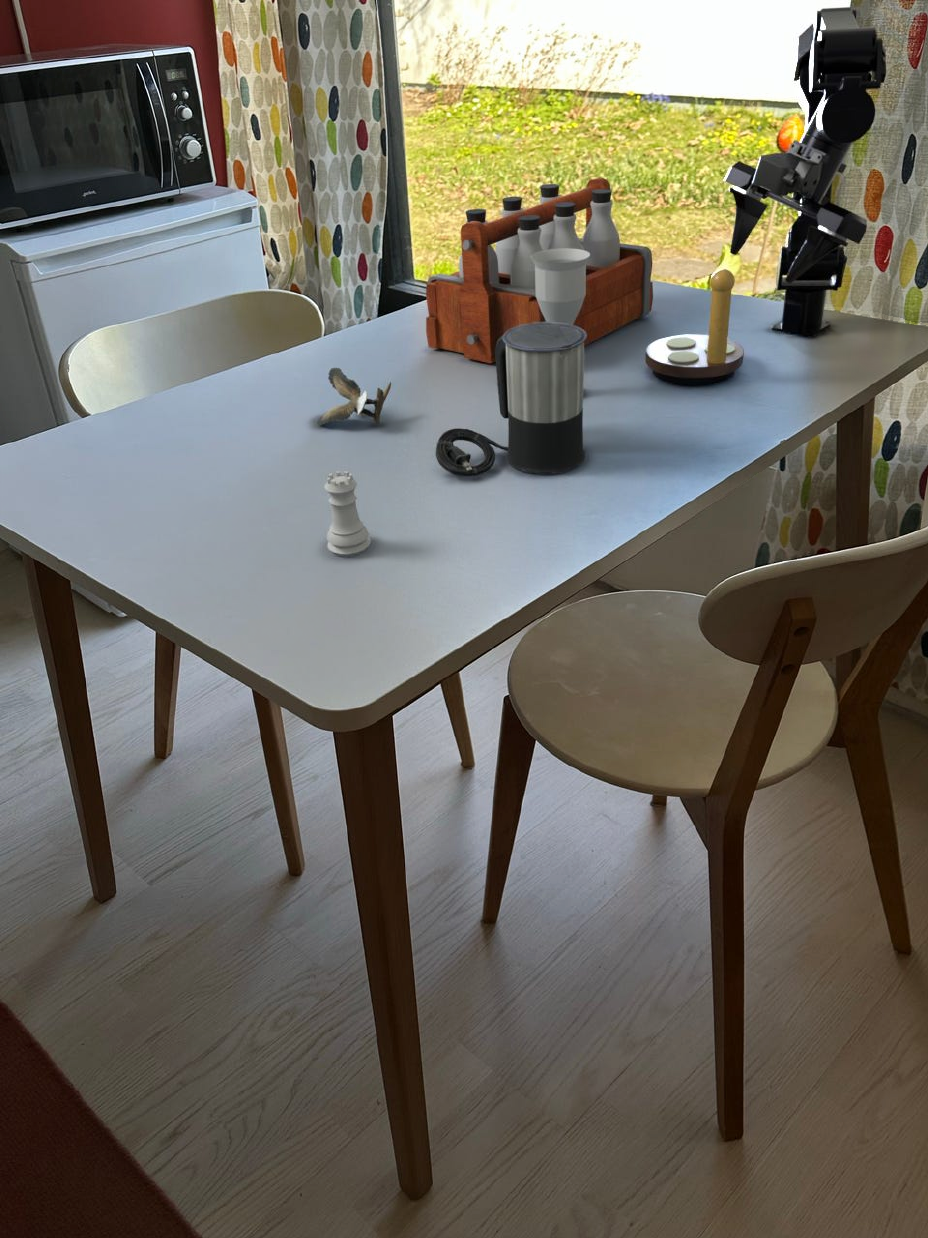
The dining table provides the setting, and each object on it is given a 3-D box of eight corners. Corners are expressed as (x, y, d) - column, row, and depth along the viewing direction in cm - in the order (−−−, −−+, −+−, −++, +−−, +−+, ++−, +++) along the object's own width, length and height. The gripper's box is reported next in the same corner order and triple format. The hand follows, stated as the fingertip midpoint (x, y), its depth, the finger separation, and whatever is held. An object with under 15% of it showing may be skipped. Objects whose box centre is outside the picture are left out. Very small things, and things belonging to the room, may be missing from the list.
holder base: (679, 352, 148) (680, 344, 147) (749, 367, 141) (750, 358, 141) (636, 375, 141) (636, 367, 140) (707, 392, 135) (708, 383, 134)
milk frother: (602, 455, 121) (604, 330, 112) (511, 505, 112) (506, 372, 103) (512, 426, 129) (508, 308, 121) (421, 470, 120) (409, 345, 112)
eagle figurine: (396, 400, 136) (333, 384, 137) (388, 368, 129) (322, 351, 131) (376, 448, 133) (311, 432, 135) (367, 418, 126) (300, 401, 128)
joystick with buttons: (678, 339, 148) (683, 243, 141) (760, 355, 140) (771, 255, 133) (626, 366, 140) (629, 266, 133) (711, 385, 133) (719, 280, 125)
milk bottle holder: (416, 354, 154) (404, 218, 143) (552, 292, 176) (551, 170, 165) (530, 380, 142) (526, 234, 131) (661, 310, 164) (667, 180, 153)
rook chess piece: (328, 538, 108) (317, 468, 103) (371, 534, 108) (362, 464, 103) (327, 560, 104) (316, 488, 100) (371, 555, 104) (362, 484, 100)
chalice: (588, 384, 139) (590, 247, 129) (589, 403, 134) (590, 261, 124) (534, 385, 140) (531, 249, 130) (532, 405, 135) (529, 263, 125)
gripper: (733, 100, 125) (672, 227, 131) (859, 152, 114) (786, 286, 121) (778, 126, 133) (718, 244, 139) (899, 177, 122) (828, 302, 129)
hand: (759, 267), depth 132 cm, fingers open, 9 cm apart
